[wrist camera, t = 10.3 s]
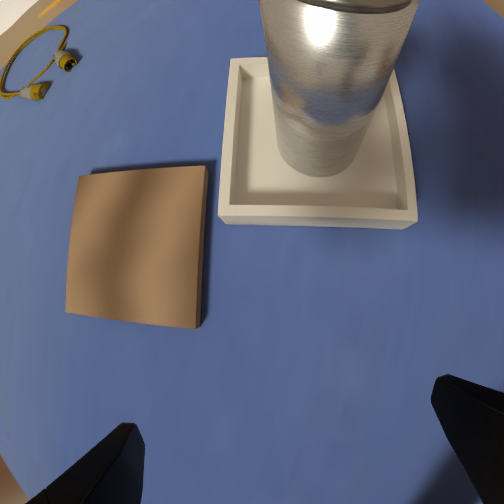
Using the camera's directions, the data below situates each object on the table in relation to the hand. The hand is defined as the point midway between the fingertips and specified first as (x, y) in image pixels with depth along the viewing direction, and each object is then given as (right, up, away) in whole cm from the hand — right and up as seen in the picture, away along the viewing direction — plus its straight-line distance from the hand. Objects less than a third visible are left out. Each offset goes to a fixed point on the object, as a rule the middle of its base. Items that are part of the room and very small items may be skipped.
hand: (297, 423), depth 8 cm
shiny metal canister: (+3, +12, +11) cm, 16 cm away
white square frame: (+3, +12, +12) cm, 17 cm away
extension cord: (-27, +27, +18) cm, 42 cm away
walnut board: (-9, +5, +13) cm, 16 cm away
